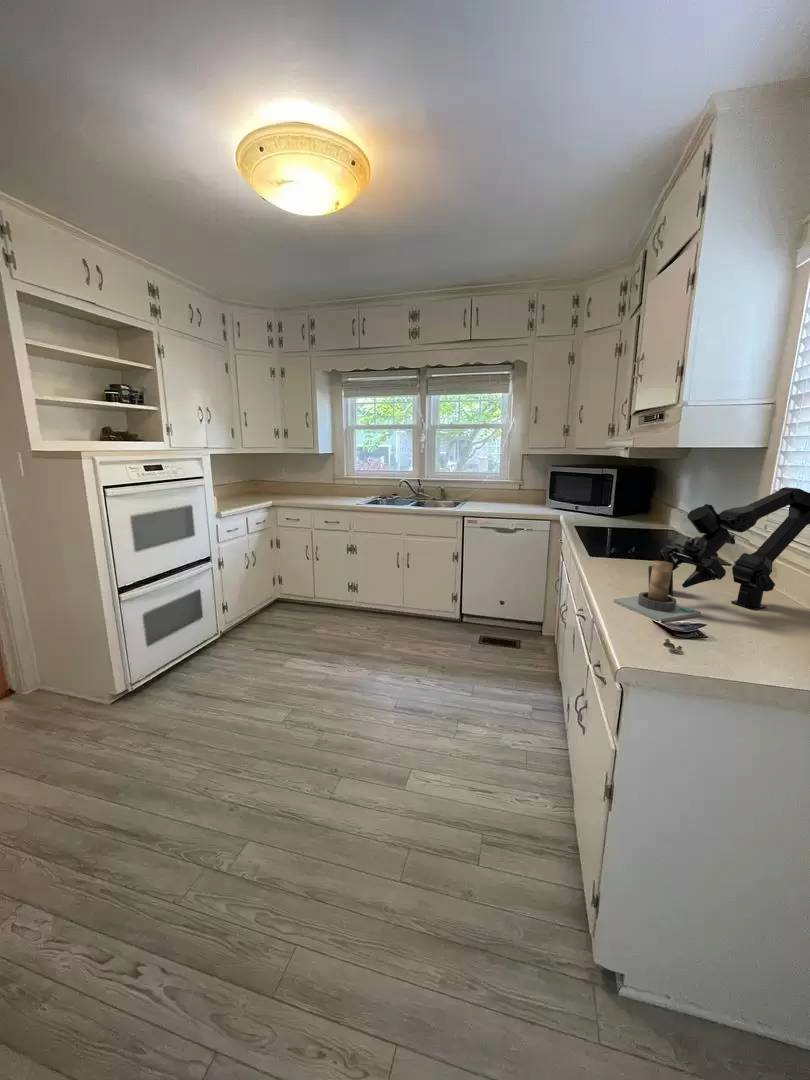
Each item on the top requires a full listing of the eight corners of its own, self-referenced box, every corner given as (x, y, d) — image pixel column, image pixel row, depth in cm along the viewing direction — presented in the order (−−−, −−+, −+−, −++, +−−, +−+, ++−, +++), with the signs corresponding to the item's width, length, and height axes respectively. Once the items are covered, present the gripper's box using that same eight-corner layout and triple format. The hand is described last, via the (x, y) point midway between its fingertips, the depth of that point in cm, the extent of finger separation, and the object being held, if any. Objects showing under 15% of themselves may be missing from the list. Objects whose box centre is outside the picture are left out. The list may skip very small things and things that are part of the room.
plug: (662, 603, 128) (669, 561, 126) (668, 609, 124) (675, 566, 121) (644, 601, 130) (651, 560, 127) (649, 607, 125) (656, 564, 122)
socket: (651, 596, 137) (652, 586, 136) (700, 615, 122) (702, 603, 122) (613, 602, 131) (614, 591, 130) (660, 622, 117) (662, 610, 116)
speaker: (675, 591, 142) (676, 561, 140) (672, 596, 138) (674, 565, 136) (649, 588, 147) (650, 559, 145) (646, 593, 143) (647, 563, 141)
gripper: (670, 519, 132) (633, 555, 132) (724, 531, 114) (682, 573, 114) (688, 544, 135) (652, 578, 135) (743, 559, 117) (702, 599, 118)
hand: (670, 581), depth 126 cm, fingers open, 9 cm apart
